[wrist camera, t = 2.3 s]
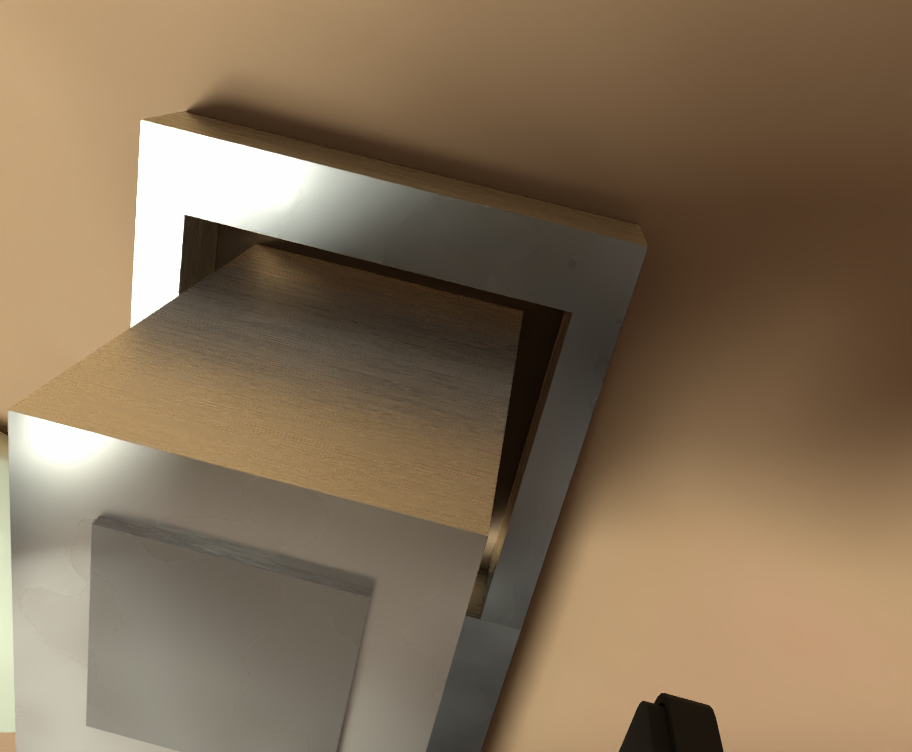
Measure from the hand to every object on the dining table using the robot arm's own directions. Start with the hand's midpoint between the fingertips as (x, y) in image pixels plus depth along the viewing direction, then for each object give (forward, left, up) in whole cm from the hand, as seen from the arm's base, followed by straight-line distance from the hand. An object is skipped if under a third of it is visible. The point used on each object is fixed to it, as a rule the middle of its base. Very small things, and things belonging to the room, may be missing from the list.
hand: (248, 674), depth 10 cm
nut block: (-1, 0, -7) cm, 7 cm away
